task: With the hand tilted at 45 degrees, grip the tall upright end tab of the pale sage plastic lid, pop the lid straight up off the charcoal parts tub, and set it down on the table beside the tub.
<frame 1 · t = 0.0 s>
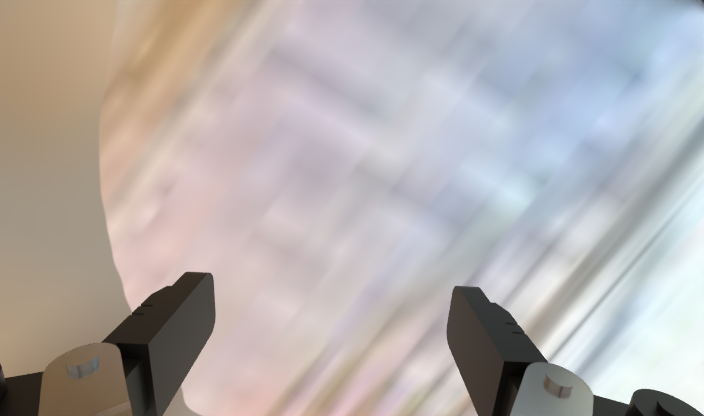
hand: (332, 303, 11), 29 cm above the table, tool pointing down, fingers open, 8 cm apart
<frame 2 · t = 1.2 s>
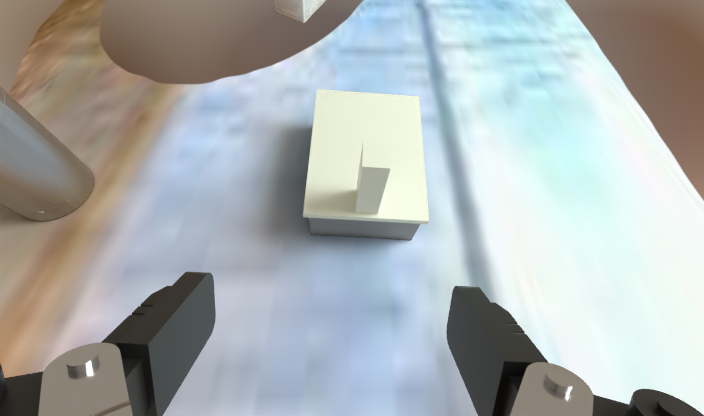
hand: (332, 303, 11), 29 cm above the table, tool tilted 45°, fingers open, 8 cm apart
lid: (366, 152, 43), point 6 cm above the table, touching tub
tub: (362, 178, 48), on the table
light bulb box: (303, 5, 66), on the table
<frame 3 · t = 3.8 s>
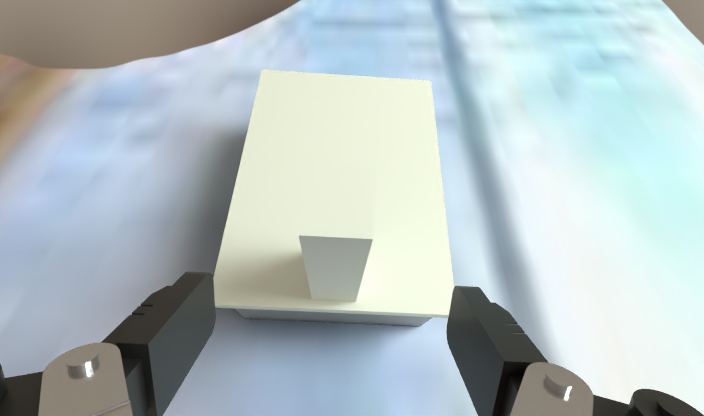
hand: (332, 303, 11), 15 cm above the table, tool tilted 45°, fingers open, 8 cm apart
lid: (341, 176, 24), point 6 cm above the table, touching tub
tub: (339, 214, 30), on the table
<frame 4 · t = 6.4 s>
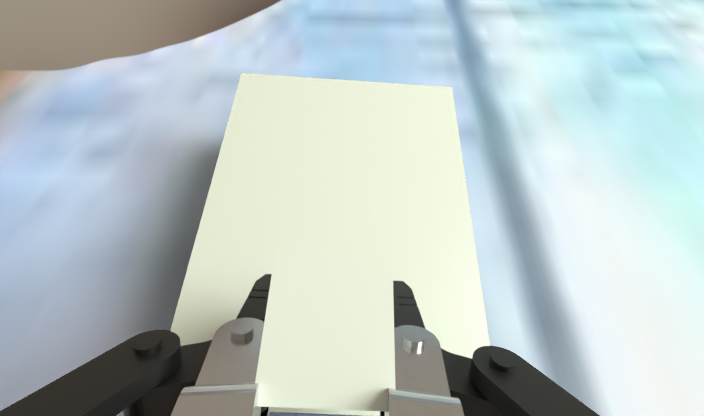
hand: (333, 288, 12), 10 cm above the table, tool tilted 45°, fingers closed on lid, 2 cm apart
lid: (339, 212, 19), point 6 cm above the table, touching gripper, tub
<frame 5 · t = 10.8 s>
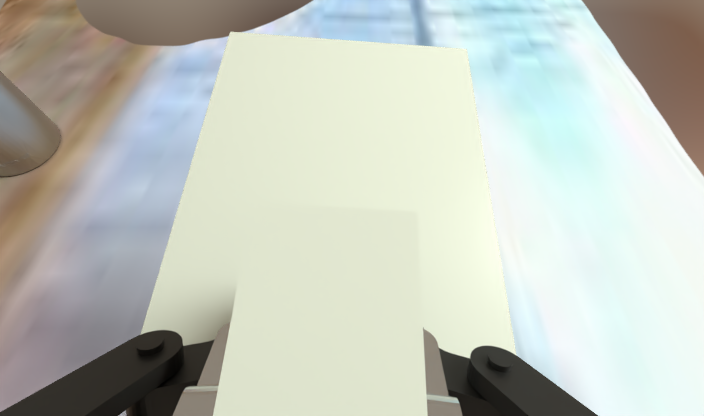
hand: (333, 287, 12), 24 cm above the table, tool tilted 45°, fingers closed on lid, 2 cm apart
lid: (340, 186, 17), point 23 cm above the table, touching gripper
when the fingers open (7 cm above the table, at t = 15.1 s): lid drops 7 cm, point 1 cm above the table.
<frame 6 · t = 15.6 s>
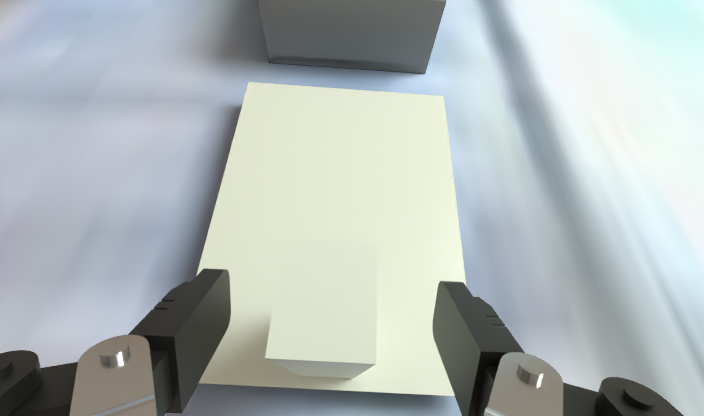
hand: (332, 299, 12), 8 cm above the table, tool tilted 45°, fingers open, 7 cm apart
lid: (338, 211, 21), point 1 cm above the table
tub: (351, 4, 33), on the table
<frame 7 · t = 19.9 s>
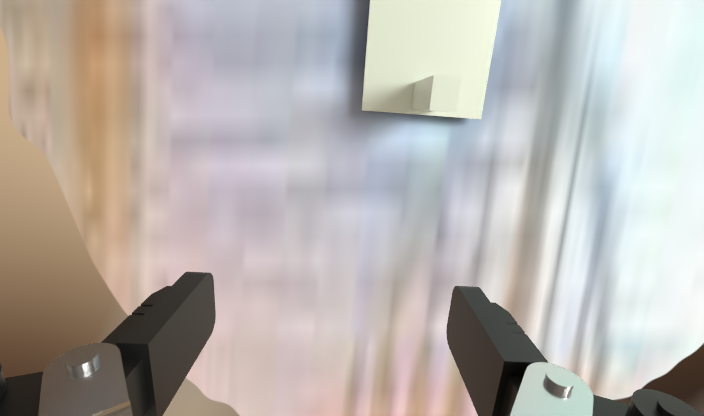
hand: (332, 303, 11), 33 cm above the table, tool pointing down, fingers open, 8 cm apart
lid: (431, 26, 38), point 1 cm above the table
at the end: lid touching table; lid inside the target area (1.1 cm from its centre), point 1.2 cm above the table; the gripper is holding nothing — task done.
